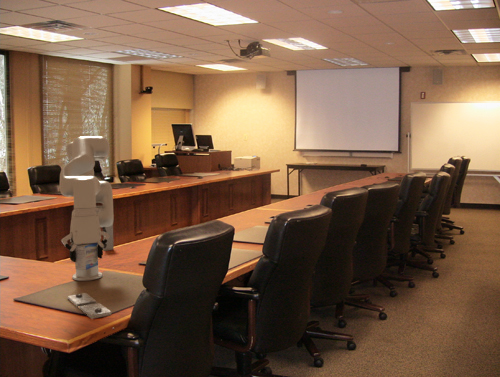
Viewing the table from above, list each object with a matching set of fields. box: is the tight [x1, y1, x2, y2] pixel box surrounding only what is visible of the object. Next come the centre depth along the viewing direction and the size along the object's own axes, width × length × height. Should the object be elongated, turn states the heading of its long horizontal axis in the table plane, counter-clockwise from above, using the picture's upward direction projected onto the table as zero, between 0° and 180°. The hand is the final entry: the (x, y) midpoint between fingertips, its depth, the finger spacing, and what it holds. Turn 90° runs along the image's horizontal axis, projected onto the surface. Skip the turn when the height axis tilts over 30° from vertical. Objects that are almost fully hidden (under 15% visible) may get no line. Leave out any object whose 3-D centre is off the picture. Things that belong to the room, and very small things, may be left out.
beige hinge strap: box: [67, 292, 112, 320], centre depth 188 cm, size 27×7×2 cm, turn 36°
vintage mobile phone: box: [101, 223, 115, 252], centre depth 284 cm, size 4×5×25 cm
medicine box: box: [74, 243, 99, 270], centre depth 187 cm, size 8×4×9 cm, turn 163°
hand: (86, 259), depth 187 cm, fingers closed on medicine box, 9 cm apart
